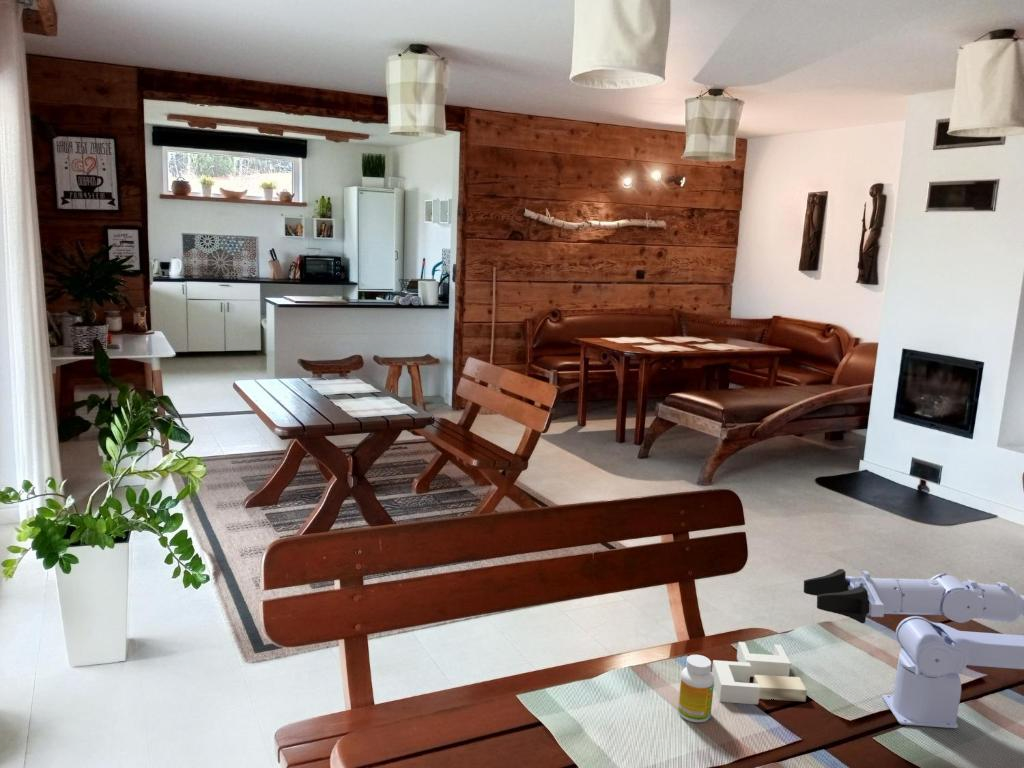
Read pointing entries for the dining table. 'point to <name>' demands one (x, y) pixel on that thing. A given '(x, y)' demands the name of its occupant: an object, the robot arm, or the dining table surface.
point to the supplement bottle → (696, 689)
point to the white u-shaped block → (765, 661)
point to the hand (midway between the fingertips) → (810, 594)
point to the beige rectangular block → (780, 688)
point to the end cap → (734, 682)
